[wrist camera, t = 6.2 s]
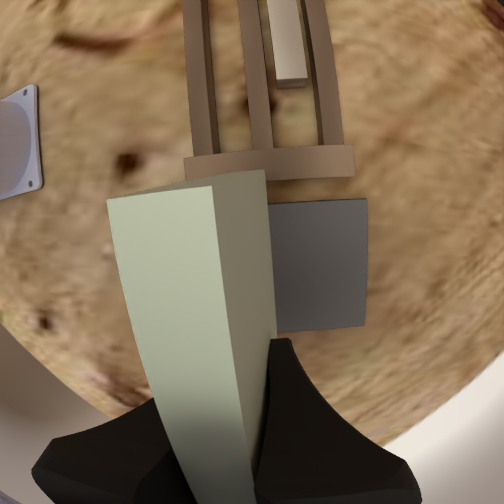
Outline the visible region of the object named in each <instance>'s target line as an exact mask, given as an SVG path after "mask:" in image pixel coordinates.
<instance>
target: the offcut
mask: <svg viewBox="0 0 504 504" xmlns="http://www.w3.org/2000/svg"><path fill="white" fill-rule="evenodd" d="M267 8H268V17H269V25H270V32H271V40H272V48H273V56H274V65H275V73H276V82H277V89H288V88H304V87H305V84H306V81H307V78H308V77H307V69H306V61H305V54H304V47H303V40H302V33H301V27H300V20H299V14H298V8H297V3H296V0H267Z"/></svg>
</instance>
